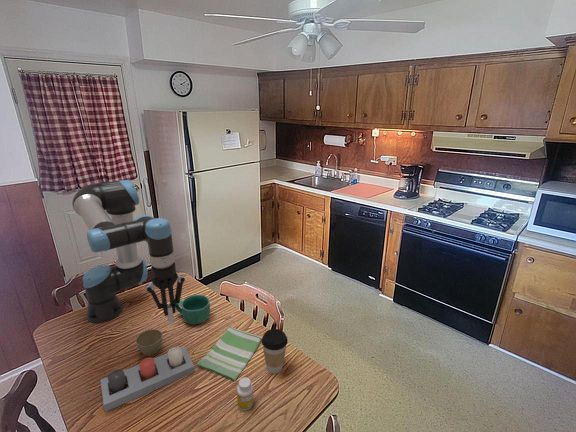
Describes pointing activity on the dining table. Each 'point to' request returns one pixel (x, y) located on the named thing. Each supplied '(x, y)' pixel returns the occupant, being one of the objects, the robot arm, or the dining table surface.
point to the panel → (148, 385)
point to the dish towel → (231, 353)
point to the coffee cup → (274, 349)
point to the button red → (147, 368)
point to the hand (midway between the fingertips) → (170, 321)
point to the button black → (117, 381)
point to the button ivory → (175, 357)
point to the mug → (194, 309)
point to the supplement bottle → (245, 394)
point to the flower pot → (149, 341)
